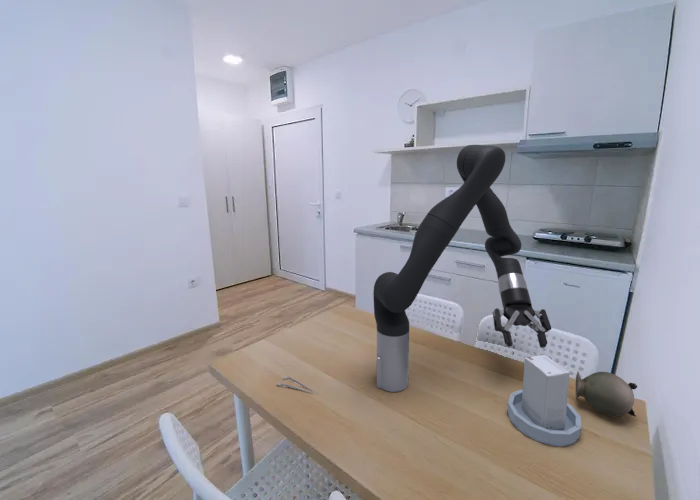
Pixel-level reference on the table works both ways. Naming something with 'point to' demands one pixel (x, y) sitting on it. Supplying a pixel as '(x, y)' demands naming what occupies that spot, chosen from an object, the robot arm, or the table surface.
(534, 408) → the skincare box
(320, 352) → the table surface
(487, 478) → the table surface
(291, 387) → the tweezers
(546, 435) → the bowl
